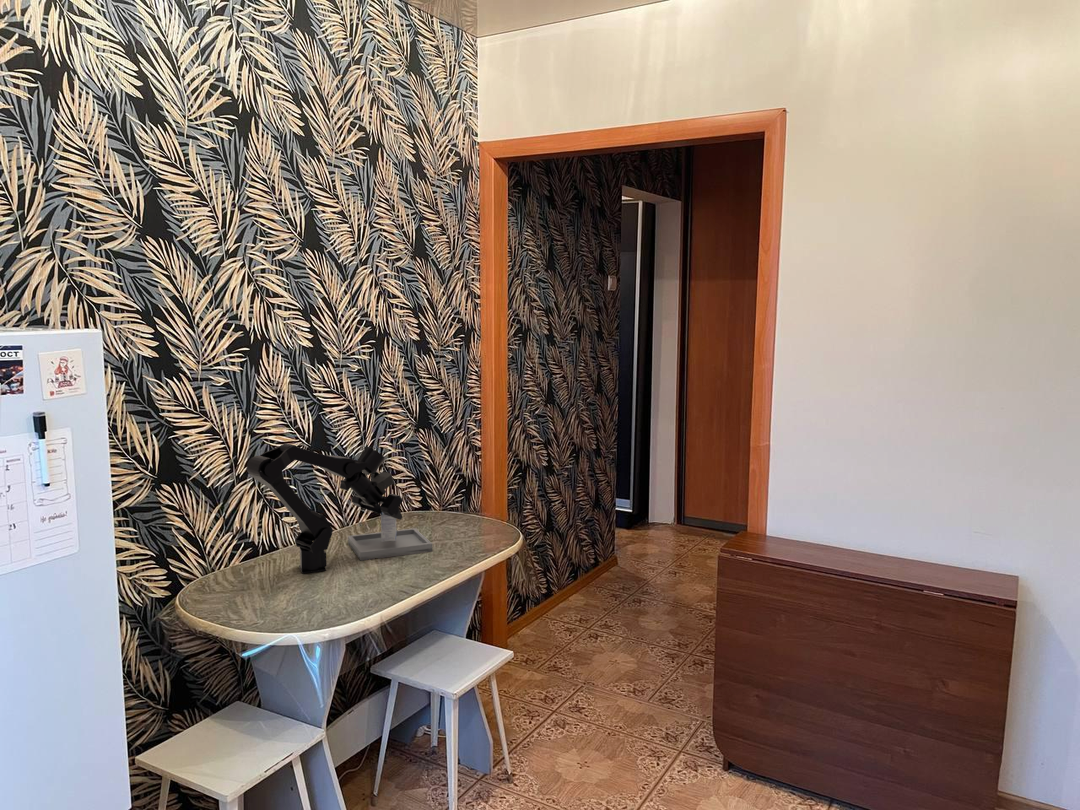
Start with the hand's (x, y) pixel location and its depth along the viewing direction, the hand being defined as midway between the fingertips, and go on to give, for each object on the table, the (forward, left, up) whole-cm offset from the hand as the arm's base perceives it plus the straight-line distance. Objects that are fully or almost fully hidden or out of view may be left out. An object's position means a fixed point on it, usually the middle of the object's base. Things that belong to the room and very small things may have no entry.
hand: (392, 515), depth 234 cm
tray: (-1, 0, -10) cm, 10 cm away
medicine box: (-1, -1, -7) cm, 7 cm away
